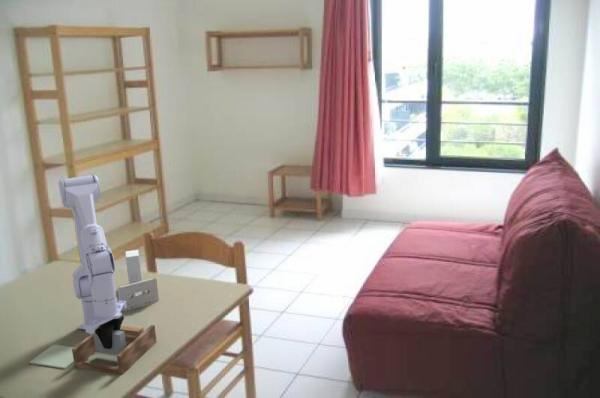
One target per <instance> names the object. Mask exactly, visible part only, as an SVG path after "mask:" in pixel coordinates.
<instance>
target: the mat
mask: <svg viewBox="0 0 600 398" xmlns="http://www.w3.org/2000/svg"><path fill="white" fill-rule="evenodd" d="M74 347H75V346H73V347H72V346H65V345H58V344H52V345H51V346H49V347H48V348H47V349H45V350H44V351H43V352H41V353H39V355H37V356H36V357H34V358H33V359H31V360H30V361H29V364H32V365H38V366H43V367H51V368H56V369H62V370H66V369H68V368H70V366H71V365H73V364H74V359H73V353H72V349H73V348H74Z"/></svg>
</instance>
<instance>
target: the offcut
mask: <svg viewBox="0 0 600 398" xmlns="http://www.w3.org/2000/svg"><path fill="white" fill-rule="evenodd" d="M144 329H145V328H144V327H143V326H137V325H129V324H123V323H122V324H121V327H120V331H124V333H125V340H126V345H127V346H128V345H129V344H130V343H132V342H133V341H134V340H135V339H136V338H137V337H138V336H140V335H141V334H142V333H143V332H144V331H145V330H144Z"/></svg>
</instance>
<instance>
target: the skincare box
mask: <svg viewBox="0 0 600 398" xmlns="http://www.w3.org/2000/svg"><path fill="white" fill-rule="evenodd" d="M124 253H125V261H126V263H125V264H126V270H127V271H126V272H127V278H128V285H129V284H133V283H136V282H140V281H143V278H142V270H141V263H140V254H139V249H133V250H126V251H125V252H124Z"/></svg>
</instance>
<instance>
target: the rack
mask: <svg viewBox="0 0 600 398" xmlns="http://www.w3.org/2000/svg"><path fill="white" fill-rule="evenodd" d="M156 334H157V333H156V326H155V325H153V324H150V326H148V328H146V329H145V330H144V332H143V333H142V334H141V335H140V336H138V337H137V338H136V339H135V340H134V341H133V342H132V343H130V344H129V345H128V344H127V345H126V348H125V349H124V350H123V351H121V352H120V353H119V354H118V355H116V361H117V367H116V366H111V365H103V364H97V363H92V362H86V361H87V360H89V359H90V358H91V357H92V356H94V355H95V354H96V353H97V352H96V350H95V343H94V337H93V334H90V335H88V336H87V337H85V338H84V339H83V340H82V341H80V342H78V344H76V345H75V346H73V347H74V348H73V349H72V353H73V359H74V363H73V364H74V367H75V368H81V369H88V370H93V371H99V372H100V371H101V372H106V373H112V374H119V375H124V374H125V372H127V371H128V370H129V369H130V368H131V367H133V366H134V365H135V363H136V362H138V360H140V358H141V357H143V356H144V355H145V354H146V353H147V352H148V351H149V350H150V349H151V348H152V347H153V346H154V345H155V344H156V343H157V335H156ZM95 352H96V353H95ZM94 353H95V354H94ZM91 355H92V356H91ZM90 356H91V357H90ZM89 357H90V358H89ZM88 358H89V359H88Z"/></svg>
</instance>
